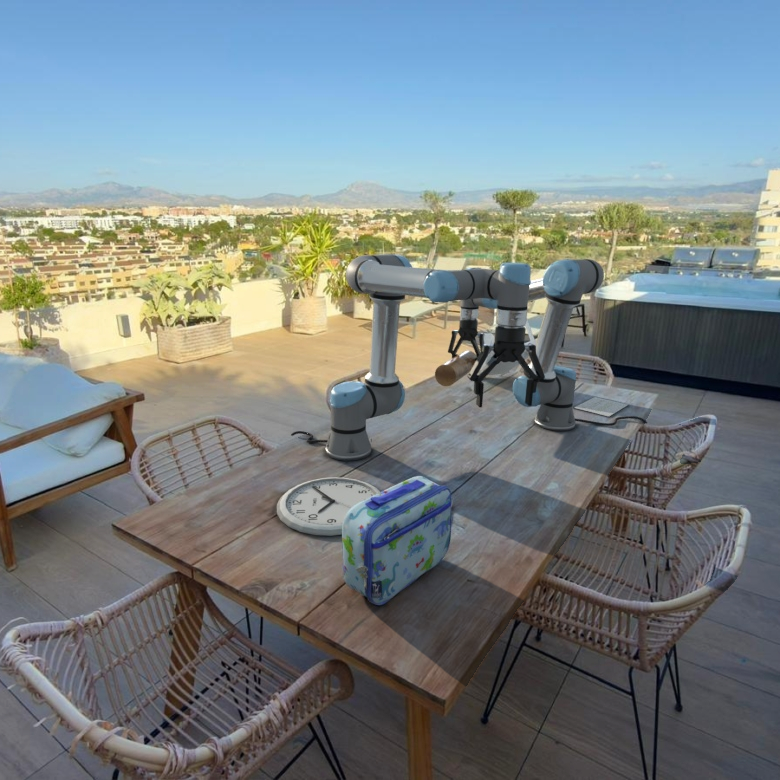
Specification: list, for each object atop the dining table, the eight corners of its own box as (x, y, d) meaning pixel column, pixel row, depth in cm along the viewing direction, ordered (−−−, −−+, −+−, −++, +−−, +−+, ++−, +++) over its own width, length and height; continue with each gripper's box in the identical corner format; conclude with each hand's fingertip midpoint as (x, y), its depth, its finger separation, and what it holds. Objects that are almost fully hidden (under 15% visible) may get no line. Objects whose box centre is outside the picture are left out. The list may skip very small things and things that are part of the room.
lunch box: (371, 618, 102) (371, 524, 95) (336, 591, 109) (334, 502, 103) (455, 562, 119) (460, 479, 113) (420, 542, 126) (423, 463, 120)
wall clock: (392, 527, 129) (268, 531, 127) (391, 533, 130) (269, 537, 127) (383, 473, 158) (282, 475, 155) (383, 478, 158) (282, 480, 156)
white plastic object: (489, 418, 267) (470, 395, 242) (471, 346, 289) (451, 318, 264) (561, 394, 254) (547, 368, 230) (535, 321, 277) (521, 289, 252)
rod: (458, 368, 229) (459, 349, 226) (477, 371, 225) (479, 351, 222) (434, 384, 205) (435, 363, 203) (455, 388, 202) (456, 366, 199)
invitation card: (608, 416, 214) (573, 407, 224) (608, 416, 214) (573, 408, 224) (628, 404, 229) (594, 396, 238) (628, 405, 229) (594, 397, 238)
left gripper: (467, 329, 127) (462, 411, 133) (563, 328, 130) (554, 408, 137) (458, 323, 134) (454, 401, 140) (550, 322, 138) (542, 399, 144)
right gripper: (441, 317, 219) (438, 369, 225) (491, 322, 209) (487, 376, 216) (447, 315, 225) (445, 365, 232) (496, 319, 216) (492, 372, 223)
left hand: (503, 405), depth 139 cm, fingers open, 13 cm apart
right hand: (465, 370), depth 224 cm, fingers closed on rod, 9 cm apart
